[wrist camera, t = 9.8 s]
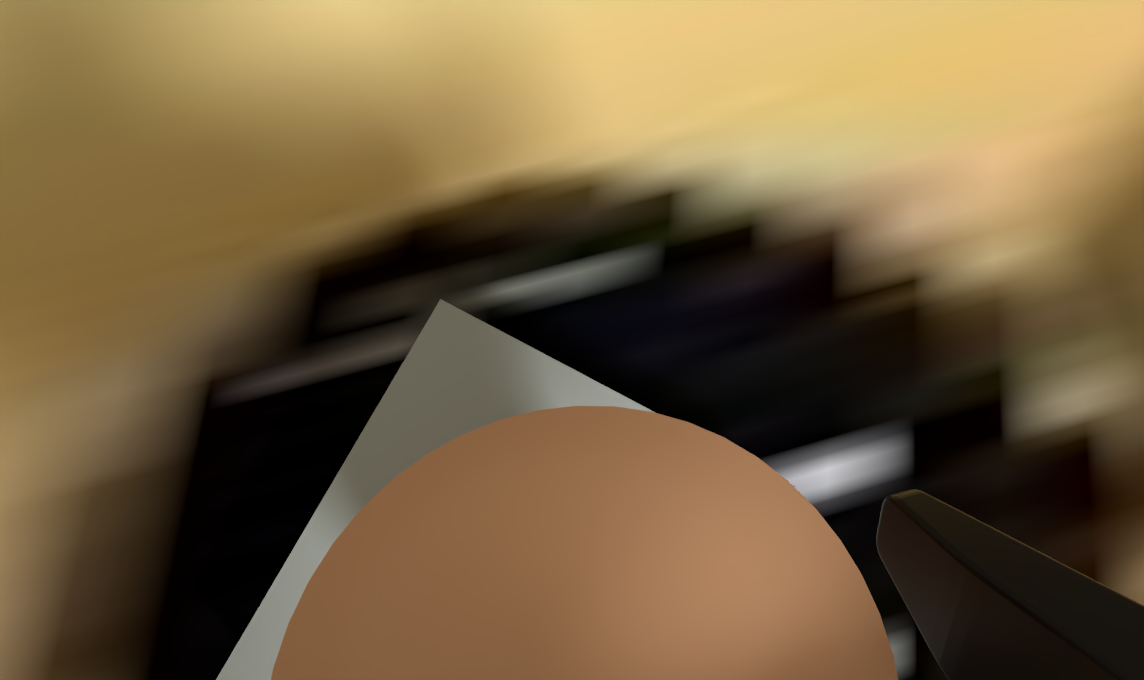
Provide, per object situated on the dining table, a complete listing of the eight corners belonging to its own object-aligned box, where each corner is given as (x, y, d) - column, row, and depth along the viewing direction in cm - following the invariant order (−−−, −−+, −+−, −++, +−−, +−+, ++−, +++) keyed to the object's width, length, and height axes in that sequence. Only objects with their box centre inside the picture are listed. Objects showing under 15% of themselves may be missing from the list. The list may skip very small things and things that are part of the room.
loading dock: (600, 848, 21) (618, 904, 18) (250, 661, 21) (211, 687, 18) (756, 488, 23) (794, 486, 20) (446, 324, 23) (440, 298, 20)
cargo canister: (531, 752, 18) (637, 1303, 6) (364, 595, 18) (107, 779, 6) (673, 571, 19) (1018, 682, 7) (514, 428, 20) (567, 287, 7)
